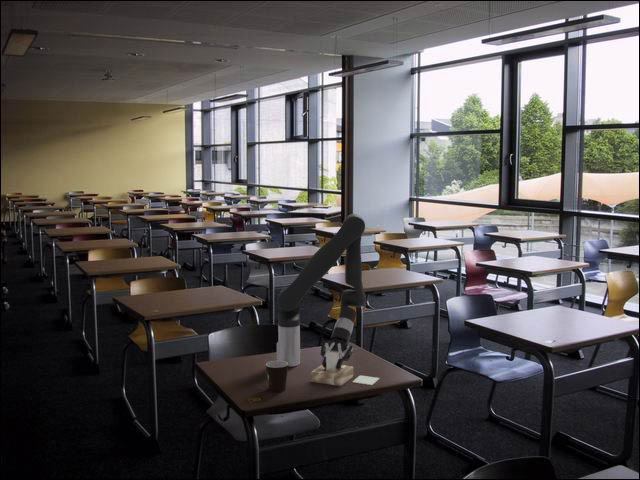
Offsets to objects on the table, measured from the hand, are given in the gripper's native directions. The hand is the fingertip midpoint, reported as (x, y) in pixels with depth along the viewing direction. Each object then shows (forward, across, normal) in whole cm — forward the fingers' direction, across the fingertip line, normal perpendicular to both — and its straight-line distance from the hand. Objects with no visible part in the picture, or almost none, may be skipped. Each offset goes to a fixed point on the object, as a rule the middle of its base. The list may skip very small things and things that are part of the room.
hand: (330, 367), depth 256 cm
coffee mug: (+15, -15, -8) cm, 23 cm away
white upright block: (+3, 0, +4) cm, 5 cm away
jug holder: (+2, 0, +5) cm, 6 cm away
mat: (0, +13, +7) cm, 15 cm away
